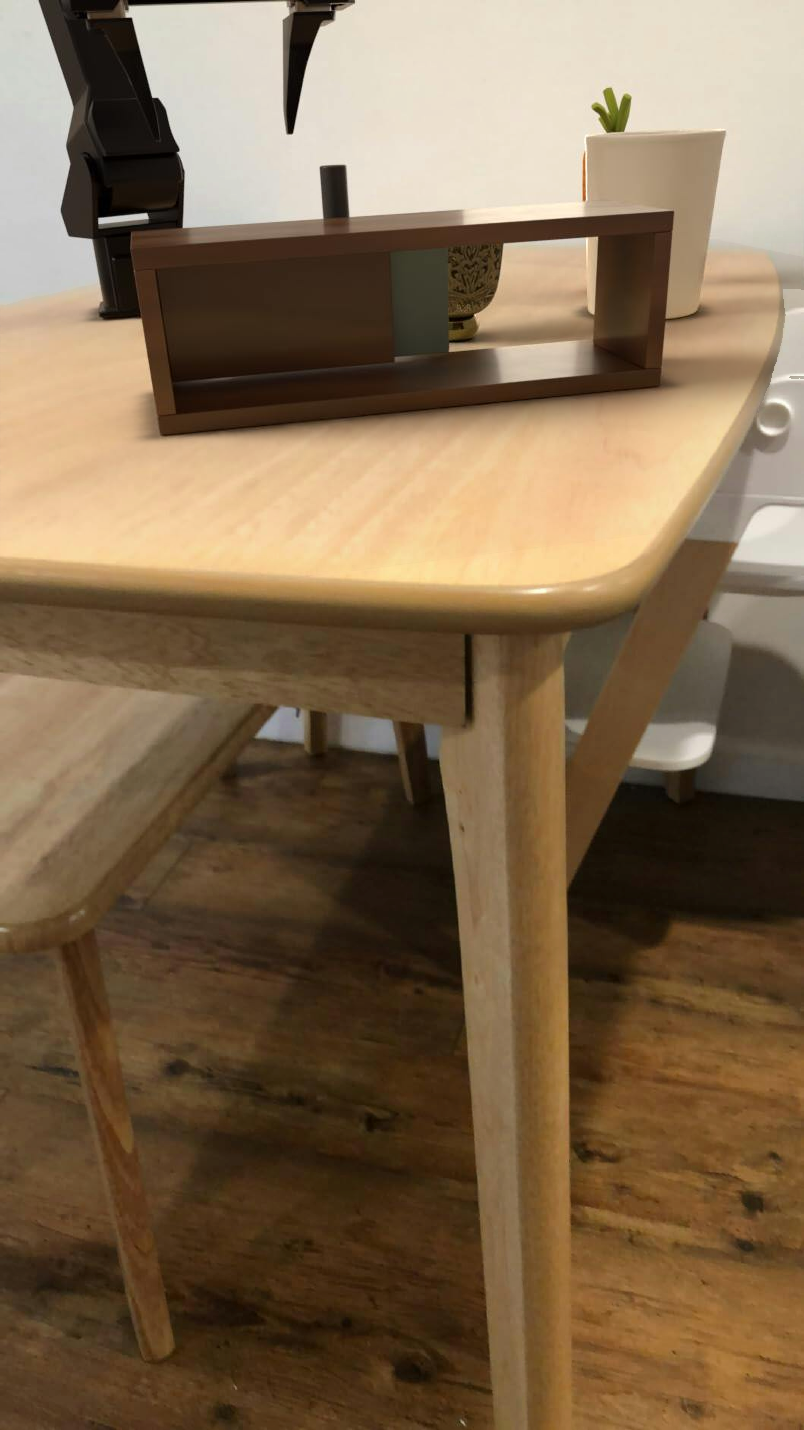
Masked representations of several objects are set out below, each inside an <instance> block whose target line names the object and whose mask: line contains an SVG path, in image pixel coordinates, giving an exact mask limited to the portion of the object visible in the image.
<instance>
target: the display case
mask: <svg viewBox="0 0 804 1430" xmlns="http://www.w3.org/2000/svg"><path fill="white" fill-rule="evenodd" d="M673 221H674V211H673V210H668V209H661V208H655V207H649V206H643V205H637V204H631V203H624V202H618V201H612V200H598V201H583V200H582V201H568V202H555V203H541V204H539V203H538V204H525V205H524V204H523V205H511V206H509V205H508V206H496V207H495V206H494V207H482V208H479V207H477V208H465V209H451V210H449V209H448V210H434V211H420V212H406V213H389V214H376V215H374V214H373V215H362V216H361V215H360V216H350V217H343V218H328V219H323V218H316V219H300V220H285V221H284V220H283V221H270V222H268V221H267V222H255V223H254V222H253V223H239V224H226V225H225V224H224V225H223V224H222V225H209V226H208V225H207V226H194V227H183V228H177V229H162V230H147V231H132V232H131V256H132V262H133V268H134V274H135V281H136V287H137V293H138V299H139V306H140V312H141V314H140V318H141V324H142V330H143V337H144V343H145V348H146V355H147V356H146V357H147V362H148V368H149V375H150V381H151V386H152V393H153V399H154V406H155V412H156V418H157V424H158V431H159V435H160V436H169V435H179V434H188V433H199V432H208V431H209V432H210V431H217V430H218V431H219V430H228V429H237V428H238V429H239V428H247V427H248V428H249V427H259V426H268V425H278V424H279V425H280V424H290V423H301V422H308V421H318V420H319V421H320V420H327V419H328V420H329V419H338V418H339V419H340V418H350V417H360V416H369V415H379V414H380V415H381V414H390V413H399V412H409V411H411V412H412V411H417V410H418V411H421V410H430V409H440V408H449V407H461V406H470V405H480V404H481V405H483V404H492V403H500V402H511V401H512V402H513V401H521V400H532V399H541V398H542V399H543V398H551V397H561V396H562V397H563V396H573V395H581V394H592V393H601V392H611V391H612V392H613V391H622V390H623V391H624V390H632V389H641V388H652V387H660V386H661V383H662V370H663V369H662V367H663V355H664V342H665V330H666V320H667V319H666V307H667V294H668V282H669V269H670V257H671V244H672V232H671V231H673ZM587 237H598V248H597V269H596V291H595V312H594V315H593V334H592V336H593V337H592V338H588V339H578V340H565V341H556V342H555V341H554V342H545V343H534V344H524V345H521V344H520V345H512V346H511V345H510V346H500V347H490V348H478V349H468V350H467V349H466V350H465V349H464V350H455V351H449V352H445V353H434V354H423V355H412V356H401V357H395V355H394V332H393V310H392V288H391V265H390V252H394V251H408V250H422V249H435V248H449V247H463V246H477V245H490V244H516V243H533V242H544V241H545V242H546V241H557V240H571V239H573V240H574V239H584V238H585V239H586V238H587Z"/></svg>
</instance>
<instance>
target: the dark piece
mask: <svg viewBox="0 0 804 1430" xmlns="http://www.w3.org/2000/svg"><path fill="white" fill-rule="evenodd" d="M347 167H348V166H347V164H326V165H320V166H319V178H320V179H319V182H320V192H321V207H322V219H328V218H343V217H351V216H350V200H349V183H348V168H347ZM390 265H391V288H392V310H393V332H394V355H395V357H401V356H412V355H423V354H434V353H445V352H450V341H449V315H448V263H447V248H435V249H422V250H408V251H394V252H390Z"/></svg>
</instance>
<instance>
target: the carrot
mask: <svg viewBox="0 0 804 1430" xmlns="http://www.w3.org/2000/svg"><path fill="white" fill-rule="evenodd" d="M602 95H603V97H604V102H605V105H606V107H607V109H606V107H604V106H603V104H600V103H599V102H598V101H595V102H593V103H592V104H591V107H590V108H591V109H592V111H594V112H595V113H596V114H598V115H599V117H597V120H598V121H599V123H600V124H601V126H602V128H603V129H604V131H605V133H615V132H626V128H627V124H628V121H629V118H630V112H631V107H632V106H631V105H632V98H633V97H632V96H631V95H630V94H629V93H624V94H623V95H622V98H621V100H620V102H619V106H618V101H617V98H616V96H615V92H614V89H613V88H612V87H606V88H605V89H603V90H602ZM581 182H582V186H581V187H582V189H581V190H582V202H583V201H586V150H585V149H584V153H583V156H582V181H581Z"/></svg>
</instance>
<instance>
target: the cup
mask: <svg viewBox="0 0 804 1430" xmlns="http://www.w3.org/2000/svg"><path fill="white" fill-rule="evenodd" d="M504 244H505V243H504ZM504 244H490V245H477V246H463V247H449V248H447V263H448V315H449V342H459V341H460V342H461V341H465V340H469V339H471V338H473V337H475V336H476V335H477V334H478V330H479V328H480V322H479V319H478V316H477V315H476V314H479V313H481V312H482V311H483V310H485V309H486V308H488V306H490V304H491V302H492V301H493V299H494V298H495V295H496V292H497V290H498V286H499V282H500V277H501V269H502V262H503V261H502V260H503V252H504Z"/></svg>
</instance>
